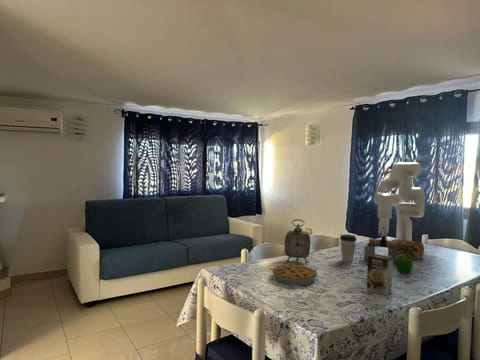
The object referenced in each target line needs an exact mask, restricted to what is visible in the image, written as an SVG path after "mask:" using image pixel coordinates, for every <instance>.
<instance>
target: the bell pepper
mask: <svg viewBox="0 0 480 360" xmlns="http://www.w3.org/2000/svg"><path fill="white" fill-rule="evenodd" d="M401 256H403V257H401ZM413 263H414V261H413V259H410V258H407V257H405V256H404V255H403V254H399V256H397V257H396V265H395V268H396V271H397V273H400V274H407V275H408V274H410V273H411V272H412V269H413Z"/></svg>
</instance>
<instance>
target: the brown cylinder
mask: <svg viewBox="0 0 480 360" xmlns="http://www.w3.org/2000/svg"><path fill="white" fill-rule="evenodd" d="M380 242H381V238H379V239H378V238H369V239H368V243H369V246H375V248H376V247H377V248H383V247H382V246H380ZM398 246H399V241H392V240H390V239H387V241H386V247H384V248H387V249H388V248H394V249H398Z"/></svg>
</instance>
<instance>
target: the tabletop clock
mask: <svg viewBox="0 0 480 360" xmlns="http://www.w3.org/2000/svg"><path fill="white" fill-rule="evenodd" d="M297 221H300V222H302V223H303V224H301V225H300V224H299V223H297V225H296V224H294V222H297ZM291 222H292V223H291V224H292V225H293V226H294V229H293V230H288V231H287V233H286V235H285V238H284V253H285V255H286V256H287V257H288V258H286V262H287V263H289V262H290V259H291V258H293V259H294V258H295V260H296V261H297V262H298V261H299V260H300V259H304V263H305V264H308V263H309V262H308V260H307V259H306V258H308V257H309V256H310V253H311V252H310V251H311V235H310V233H309V232H308V231H305V230H303V228H302V227H303V226H304V225H305V221H303V220H302V219H297V218H296V219H293V220H292V221H291Z"/></svg>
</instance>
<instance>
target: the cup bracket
mask: <svg viewBox="0 0 480 360" xmlns="http://www.w3.org/2000/svg"><path fill="white" fill-rule="evenodd" d="M363 251H364V253H363V256H364V257H363V261H364V262H368V255H371V254H376V246H369V242H365V245H364V250H363Z"/></svg>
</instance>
